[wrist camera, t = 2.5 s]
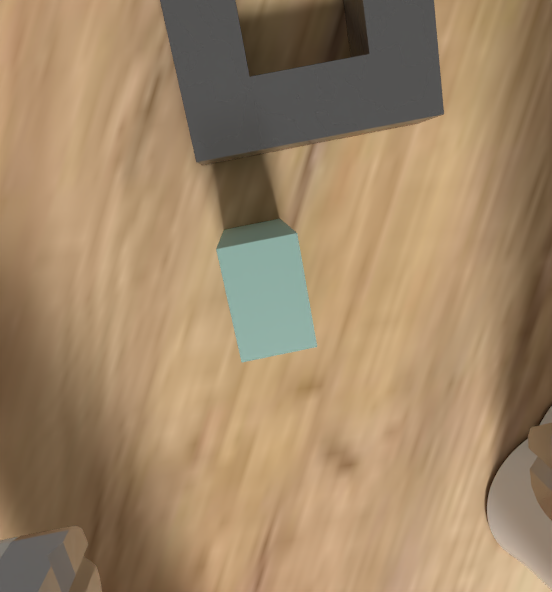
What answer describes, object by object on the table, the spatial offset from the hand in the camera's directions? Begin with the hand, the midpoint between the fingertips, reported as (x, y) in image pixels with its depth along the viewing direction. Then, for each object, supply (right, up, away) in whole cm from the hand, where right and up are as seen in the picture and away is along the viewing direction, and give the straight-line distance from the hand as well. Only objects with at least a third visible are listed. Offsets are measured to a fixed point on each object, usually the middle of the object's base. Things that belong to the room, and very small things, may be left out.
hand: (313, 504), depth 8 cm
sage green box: (-2, +6, +24) cm, 25 cm away
